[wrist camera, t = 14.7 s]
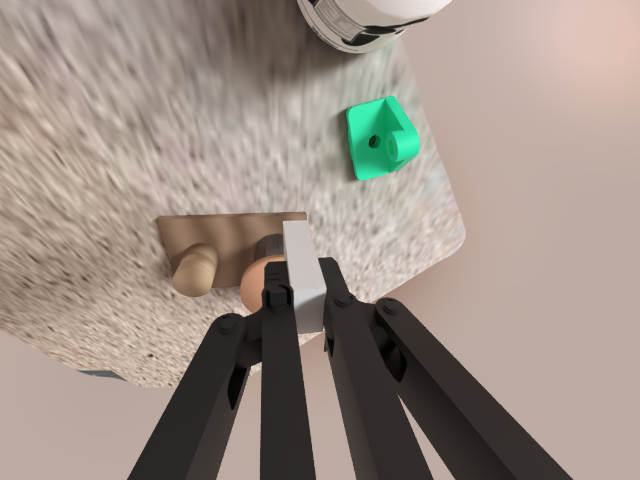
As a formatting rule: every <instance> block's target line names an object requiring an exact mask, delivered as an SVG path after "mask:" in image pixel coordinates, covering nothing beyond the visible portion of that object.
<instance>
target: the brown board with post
mask: <svg viewBox="0 0 640 480" xmlns="http://www.w3.org/2000/svg"><path fill="white" fill-rule="evenodd" d="M298 220H306V221H307V215H306V212H283V213H250V214H217V215H183V216H160V217H159V218H158V219H157V222H158V225H159V228H160V231H161V235H162V238H163V241H164V244H165V247H166V251H167V254H168V257H169V260H170V263H171V267H172V270H173V273H174V276H173V279H172V284H173V287H174V288H175V290H176V291H178V292H179V293H180V294H182V295H185V296H189V297H198V296H202V295H204V294H206V293H207V292H209V290H210V289H211V288H216V287H228V286H241V280H242V277H243V274H244V272H245V271H246V270H247V268H248V267H249V266H250V265H252V264H253V262H254V251H255V248H256V245H257V242H258V241H260V240H261V239H262V238H263V237H265V236H266V235H271V234H276V233H277V234H278V233H279V234H282V235H283V221H298Z"/></svg>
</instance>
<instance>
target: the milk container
mask: <svg viewBox="0 0 640 480" xmlns="http://www.w3.org/2000/svg"><path fill="white" fill-rule="evenodd" d="M451 1H452V0H297V2H298V5H299V7H300V9H301V12H302V14H303V16H304V17H305V19H306V21H307V23H308V24H309V26H310V27H311V28H312V30H313V31H314V32H315V33H316V34H317V35H318V36H319V37H320V38H321V39H322V40H323V41H324V42H326V43H327V44H329V45H330V46H332V47H334V48H336V49H338V50H341V51H344V52H349V53H367V52H371V51H374V50H378V49H380V48H382V47H384V46H386V45H388V44H389V43H391V42H392V41H394V40H395V39H397V38H398V37H399V36H400V35H401V34H402V33H403V32H404V31H405V30H406V29H407V28H409V27H411V26H413V25H415V24H417V23H419V22H422V21H424V20H426V19H428V18H429V17H431V16H432V15H434V14H435V13H436V12H438V11H439V10H440V9H442V8H443V7H444V6H446V5H447V4H448V3H450V2H451Z"/></svg>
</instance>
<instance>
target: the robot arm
mask: <svg viewBox="0 0 640 480" xmlns="http://www.w3.org/2000/svg"><path fill="white" fill-rule="evenodd" d="M283 241H284V261H273V262H268V263H267V264H266V266H265V267H264V289H263V290H262V293H261V297H262V307H261V308H260V309H259V310H258V311H257V312H255V313H253V314H251V315H249V316H246V317H242V316H241V315H240V314H236V313H227V314H224V315H222V316H220V317H218V318H217V319H215V320H214V322H213V323H212V324H211V326H210V328H209V330H208V331H207V333H206V335H205V337H204V339H203V341H202V342H201V344H200V346H199V348H198V350H197V352H196V354H195V355H194V357H193V359H192V361H191V363H190V365H189V366H188V368H187V370H186V372H185V374H184V376H183V377H182V379H181V381H180V383H179V385H178V387H177V389H176V390H175V392H174V394H173V396H172V398H171V400H170V402H169V403H168V405H167V407H166V409H165V411H164V412H163V414H162V416H161V418H160V420H159V422H158V424H157V425H156V427H155V429H154V431H153V433H152V435H151V437H150V438H149V440H148V442H147V444H146V446H145V448H144V450H143V451H142V453H141V455H140V457H139V459H138V460H137V462H136V464H135V466H134V468H133V470H132V472H131V474H130V475H129V477H128V479H127V480H216V478H217V474H218V472H219V468H220V465H221V462H222V459H223V455H224V452H225V449H226V446H227V442H228V440H229V436H230V433H231V430H232V427H233V424H234V420H235V417H236V414H237V411H238V408H239V404H240V401H241V398H242V395H243V392H244V388H245V385H246V382H247V379H248V376H249V372H250V369H251V366H253V365H255V364H257V363H260V362H262V379H261V441H260V443H261V445H260V480H316V474H315V467H314V460H313V451H312V443H311V436H310V427H309V420H308V413H307V405H306V396H305V389H304V381H303V373H302V365H301V357H300V350H299V342H298V334H304V333H313V332H321V331H323V326H324V328H325V332H326V333H325V344H324V352H326V351H327V352H328V356H329V361H330V365H331V369H332V374H333V378H334V383H335V387H336V391H337V396H338V400H339V405H340V409H341V413H342V418H343V422H344V427H345V431H346V436H347V439H348V444H349V449H350V453H351V457H352V462H353V466H354V471H355V474H356V479H357V480H434V479H433V477H432V475H431V472H430V470H429V468H428V465H427V463H426V461H425V458H424V456H423V454H422V451H421V449H420V446H419V444H418V442H417V439H416V437H415V435H414V432H413V430H412V428H411V425H410V423H409V421H408V418H407V416H406V413H405V411H404V409H403V406H402V404H401V401H400V399H399V397H400V398H401V399H402V401H403V402H404V404H405V405H406V407H407V408H408V410H409V411H410V413H411V414H412V416H413V417H414V419H415V420H416V422H417V423H418V425H419V426H420V428H421V429H422V431H423V432H424V434H425V435H426V437H427V438H428V439H429V441H430V443H431V444H432V445H433V447H434V448H435V450H436V452H437V453H438V454H439V456H440V457H441V459H442V460H443V462H444V463H445V465H446V466H447V468H448V469H449V471H450V472H451V474H452V475H453V477H454V478H455V479H456V480H573V479H572V478H571V477H570V476H569V475H568V474H567V473H566V472H565V471H564V470H563V469H562V468H561V467H560V466H559V464H557V462H556V461H555V460H554V459H553V458H552V457H551V456H550V455H549V454H548V453H547V452H546V451H545V450H544V449H543V448H542V447H541V446H540V445H539V444H538V443H537V442H536V441H535V440H534V439H533V438H532V437H531V436H530V435H529V434H528V433H527V432H526V430H525V429H524V428H523V427H522V426H521V425H520V424H519V423H518V422H517V421H516V420H515V419H514V418H513V417H512V416H511V415H510V414H509V413H508V412H507V411H506V410H505V409H504V408H503V407H502V406H501V405H500V404H499V403H498V402H497V401H496V400H495V399H494V398H493V397H492V395H491V394H490V393H489V392H488V391H487V390H486V389H485V388H484V387H483V386H482V385H481V384H480V383H479V382H478V381H477V380H476V379H475V378H474V377H473V376H472V375H471V374H470V373H469V372H468V371H467V370H466V369H465V368H464V367H463V366H462V365H461V364H460V362H459V361H458V360H457V359H456V358H455V357H454V356H453V355H451V353H450V352H449V351H448V350H447V349H446V348H445V347H444V346H443V345H442V344H441V343H440V342H439V341H438V340H437V339H436V338H435V337H434V336H433V335H432V334H431V333H430V332H429V331H428V330H427V329H426V327H425V326H424V325H422V323H420V321H419V320H418V319H417V318H416V317H415V316H414V315H413V314H412V313H411V312H410V311H409V310H408V309H407V308H406V307H405V306H404V305H403V304H402V303H401V302H399V301H398V300H396V299H393V298H388V297H386V298H381V299H379V300H378V301H377V303H376V304H370V303H364V302H361V301H358V300H357V298H356V297H355V296H354V295H353V294H351V293H350V292H349V290H348V288H347V285H346V283H345V280H344V278H343V275H342V273H341V270H340V268H339V265H338V263H337V262H336V261H335V260H334V259H333V258H332V257H327V258H317V254H316V251H315V248H314V244H313V241H312V238H311V234H310V231H309V228H308V224H307V221H306V220H298V221H283ZM398 395H399V397H398Z"/></svg>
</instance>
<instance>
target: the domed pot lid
mask: <svg viewBox="0 0 640 480" xmlns="http://www.w3.org/2000/svg"><path fill="white" fill-rule="evenodd" d="M273 261H284V255H273V256H268V257H264V258H262V259H259V260H257V261H256V262H254V263H253V264H252V265H250V266H249V267H248V268H247V270H246V271H245V272H244V274H243V277H242V280H241V287H240V297H241V301H242V303H243V304H244V306H245V307H246V308H247V309H248V310H249V311H250V312H252V313H255V312H257V311H258V310H259V309H260V308H261V307H262V297H261V293H262V290H263V289H264V267H265V266H266V264H267V263H268V262H273Z"/></svg>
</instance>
